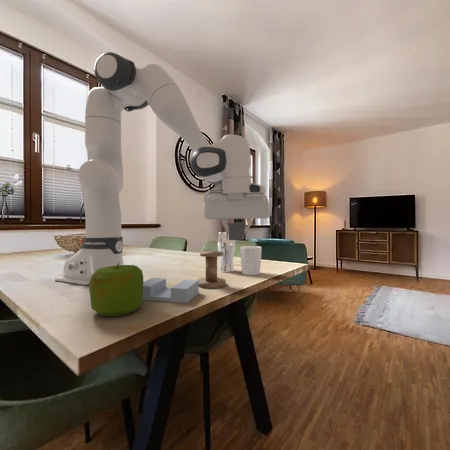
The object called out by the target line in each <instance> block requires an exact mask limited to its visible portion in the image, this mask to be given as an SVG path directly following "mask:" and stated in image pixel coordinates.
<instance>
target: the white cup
mask: <svg viewBox="0 0 450 450" xmlns="http://www.w3.org/2000/svg"><path fill="white" fill-rule="evenodd" d="M239 248H240V265H241V274H242V275H245V276H258V275H260V274H261V264H262V246H259V245H258V246H257V245H241V246H240V247H239Z"/></svg>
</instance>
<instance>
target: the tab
mask: <svg viewBox="0 0 450 450" xmlns="http://www.w3.org/2000/svg"><path fill="white" fill-rule="evenodd" d="M245 223H246V222H229V223H228V228H229V240H235V241H243V240H244V239H246V234H243V228H246V226H245V225H246V224H245Z"/></svg>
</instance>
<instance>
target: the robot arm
mask: <svg viewBox="0 0 450 450" xmlns="http://www.w3.org/2000/svg"><path fill="white" fill-rule="evenodd" d="M93 68H94V71H93V72H94V76H95V78H96V79H97V81H98V82H99V84H100V85H101V86H102V87H101V86H98V87H93V88H92V89H90V90H89V92H88V95H87V97H86V104H85V112H84V115H85V116H84V144H85V148H86V153H87V158H88V159H87V160H86V161H85V162H84V163H82V164H81V165H80V167H79V168H78V175H77V176H78V181H79V183H80V188H81V196H82V202H83V207H84V214H85V237H84V238H83V239H79V240H78V241H79V242H78V244H79V245H80V244H81V247H80V249H79V250H77V251H76V252H75V253H74V254H73V255H71V257H69V258H68V259H67V260H66V261H65V262H64V264H63V271H62V272H63V273H62V274H60V275H59V274H58V275H57V276H56V277H55V278H54V281H57V282H62V283H70V284H71V283H72V284H77V285H87V286H88V285H89V282H90V279H91V276H92V275H93V273H94V272H95V271H96V270H97V269H100V268H104V267H109V266H117V265H118V263H119V265H125V263H124V258H123V257H124V256H123V248H124V241H123V240H124V238H123V236H122V212H121V205H120V196H119V194H120V193H121V191H122V190H123V188H124V169H123V168H124V166H123V155H122V113H123V110H124V111H126V112H132V111H135V110H136V111H137V110H142V109H145V108H146V107H148V105H149V107H150V108H151V110H152V111H153V113H154V115H156V117H157V118H158V119H159V120H160V121H161V122H162V123H163V124H164V125H165V126H166V127H168V128H169V129H171V130H172V131H173V132H175V133H176V134H177V135H178V136H179V137H180V138H181V139H183V140H184V141H185V143H186V144H187V145H188V146H189V148H190V149H191V151H192V156H191V158H190V167H191V170H192V171H193V173H194V174H195V175H196V176H198V177H199V178H201V179H203V180H205V181H206V182H208V183H209V184H210V185H215V186H217V185H221V189H209V190H208V191H206V192H205V193H204V194H203V202H204V209H203V210H204V212H203V215H204V216H203V217H204V218H205V219H206V220H221V224H222V225H223V228H224V229H225V232H226V234H229V225H228V221H229V220H245V219H246V223H247V225H246V226H245V228H243V234H245V235H249V233H250V232H249V230H250V227H251V225H252V223H253V220H255V219H256V220H257V219H259V220H260V219H261V220H262V219H264V220H266V219H267V220H268V219H269V218H270V217H271V208H270V202H269V197H268V196H267V195H266V187H265V186H264V185H262V184H258V183H254V182H252V177H251V174H250V172H251V171H250V170H251V169H250V168H251V162H252V161H251V160H252V159H251V148H250V144H249V141H248V140H247V139H246V138H245V137H244V136H243V135H240V134H236V133H228V134H225V135H223V136H222V138H220V139H219V140H217V141H216V142H214V143H212V144H210V142H209V140H207V138H206V136H205V135H204V133H203V132H202V131H201V128H200V127H199V126H198V123H197V121H196V119H195V117H194V114H193V112H192V111H191V108H190V106H189V104H188V101H187V100H186V98H185V95H184V94H183V92H182V90H181V89H180V88H179V85H178V84H177V83H176V82H175V80H174V79H173V78H172V76H170V74H169V73H168V72H167V71H166V70H165V69H164V68H163V67H162V66H161V65H159V64H156V63H150V64H147V65H145V66H144V67H141V68H139V67H136V64H135V62H134V61H133V60H131V59H128V58H125V57H124V56H122V55H120V54H118V53H116V52H111V51H108V52H104V53H103V54H101V55H100V56H98V58H96V61H95V63H94V67H93Z"/></svg>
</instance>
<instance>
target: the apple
mask: <svg viewBox="0 0 450 450" xmlns="http://www.w3.org/2000/svg"><path fill="white" fill-rule="evenodd" d="M143 282H144V273H143V270H142V269H141V268H140V267H139V266H137V265H135V264H124V265H119V263H118V265H117V266H109V267H104V268H100V269H97V270H96V271H95V272H94V273H93V275H92V276H91V279H90V282H89V284H88V288H89V297H90V304H91V305H90V306H91V309H92V310H93V311H94V312H96V313H98V314H100V315H101V316H105V317H112V318H114V317H121V316H126V315H128V314H132V313H133V312H134V311H135V310H137V309H138V308H140V306H141V305H142V304H143V300H142V297H143Z"/></svg>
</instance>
